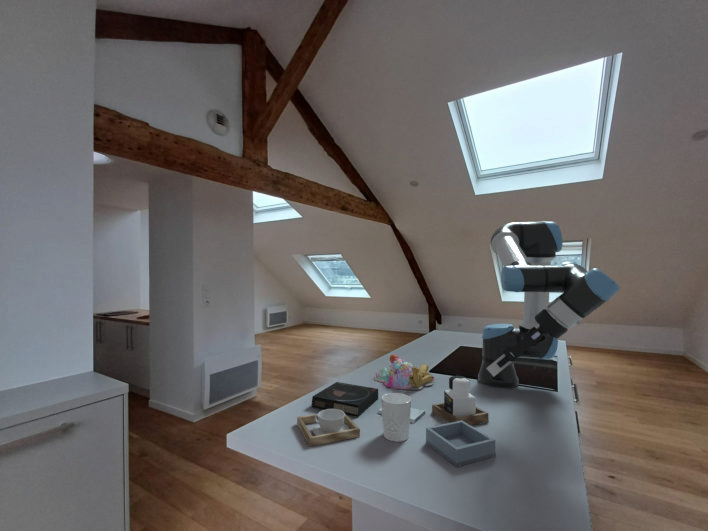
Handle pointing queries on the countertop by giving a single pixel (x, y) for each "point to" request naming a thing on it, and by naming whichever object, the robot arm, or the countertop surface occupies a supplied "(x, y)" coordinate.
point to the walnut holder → (471, 419)
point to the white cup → (396, 416)
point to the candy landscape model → (404, 375)
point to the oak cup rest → (329, 437)
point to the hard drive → (412, 414)
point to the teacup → (329, 422)
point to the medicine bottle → (459, 397)
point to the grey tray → (460, 443)
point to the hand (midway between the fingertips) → (496, 367)
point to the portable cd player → (345, 398)
